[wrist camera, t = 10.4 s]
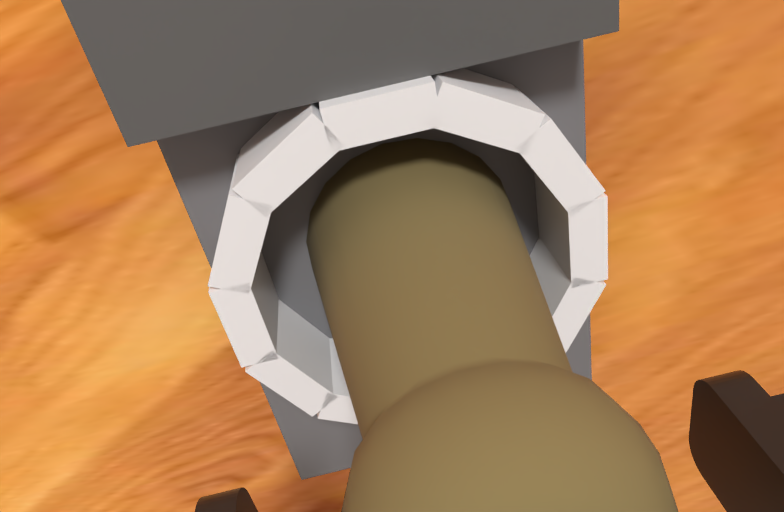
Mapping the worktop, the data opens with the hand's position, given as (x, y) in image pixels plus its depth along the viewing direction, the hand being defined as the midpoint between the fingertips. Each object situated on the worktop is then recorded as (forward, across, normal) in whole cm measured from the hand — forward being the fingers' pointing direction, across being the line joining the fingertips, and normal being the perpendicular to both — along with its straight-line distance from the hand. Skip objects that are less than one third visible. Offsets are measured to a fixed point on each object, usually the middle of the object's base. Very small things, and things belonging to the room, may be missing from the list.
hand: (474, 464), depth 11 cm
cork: (+8, 0, 0) cm, 8 cm away
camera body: (+13, 0, 0) cm, 13 cm away
